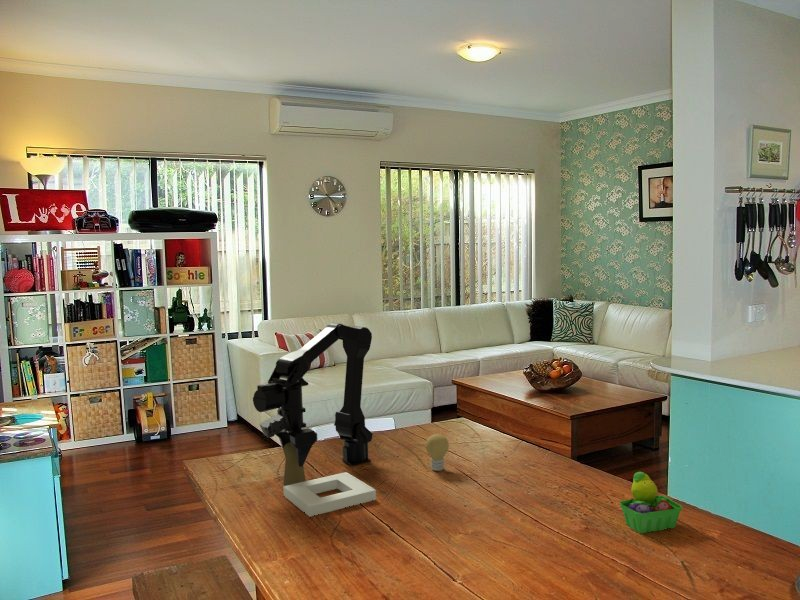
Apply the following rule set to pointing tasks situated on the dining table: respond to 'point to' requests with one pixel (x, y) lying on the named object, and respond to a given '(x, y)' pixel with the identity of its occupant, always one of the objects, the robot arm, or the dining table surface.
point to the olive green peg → (292, 467)
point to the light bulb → (437, 450)
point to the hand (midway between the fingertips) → (294, 461)
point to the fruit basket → (649, 507)
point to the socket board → (314, 505)
